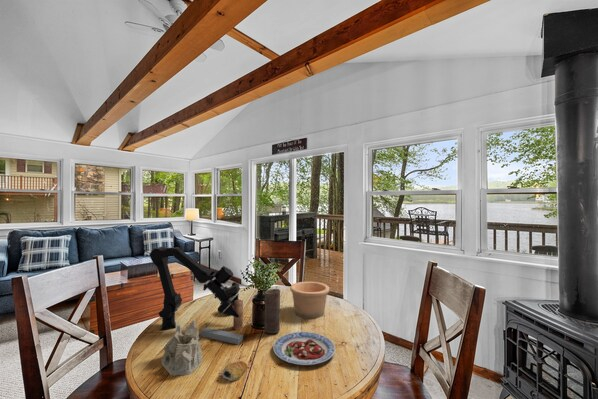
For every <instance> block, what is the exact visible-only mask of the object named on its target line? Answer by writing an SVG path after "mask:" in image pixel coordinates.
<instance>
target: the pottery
mask: <svg viewBox="0 0 598 399" xmlns="http://www.w3.org/2000/svg"><path fill="white" fill-rule="evenodd" d="M289 287H290V289H289V290H290V291H291V293H292V299H293V300H292V301H293V306H294V307H293V310H294V313H295V315H296V316H298V317H300V318H302V319H307V320H308V319H310V320H311V319H319V318H321V317H323V316H324V315H325V310H326V302H327V296H328V293H330V286H329V285H327V284H326V283H322V282H318V281H299V282H295V283H293V284H291V286H289Z"/></svg>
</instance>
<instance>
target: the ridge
mask: <svg viewBox="0 0 598 399" xmlns="http://www.w3.org/2000/svg"><path fill="white" fill-rule="evenodd" d="M200 337H203V338H208V339H212V340H216V341H220V342H225V343H230V344H233V345H240V344H241V343H242V342H243V340H244V335H243V334H240V333H234V332H230V331H225V330H221V329H215V328H213V327H212V328H211V327H204V328H203V329H201V330H200Z"/></svg>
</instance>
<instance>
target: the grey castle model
mask: <svg viewBox="0 0 598 399" xmlns="http://www.w3.org/2000/svg"><path fill="white" fill-rule="evenodd" d="M199 334H200V332H199V326H196V319H192V321H191V322H190V324H189V325H188V326H187V325H186V326H185V330H184V334H183V333H182V324H176V328H175V333H174V335H173V336H172V338H170V340H169V341H168V342H167V343H166V344H165V346H164V347H163V351H164V353H163V355H162V357H161V363H160V364H161V365H162V367H164V369H165V370H166V372H168V373H169V375H170V376H175V377H178V376H189V375H190V374H192V373H194V371H195V370H196V369H198V368H199V366H201V364H202V363H203V352H202V349H201V342H200V341H199V340H200V336H199Z"/></svg>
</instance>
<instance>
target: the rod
mask: <svg viewBox="0 0 598 399" xmlns="http://www.w3.org/2000/svg"><path fill="white" fill-rule="evenodd" d="M234 309H235V310H236V312H237V313H238V315H239V317H238V318H237V317H234V316H232V317H233V322H232V323H233V326H232V327H233V328H232V329H233V330H235V331H239V330H242V329H243V325H244V324H243V322H244V321H243V319H244V318H243V316H244V314H243V313H244V311H243V310H244V301H243V299H239V300H235V301H234Z"/></svg>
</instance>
